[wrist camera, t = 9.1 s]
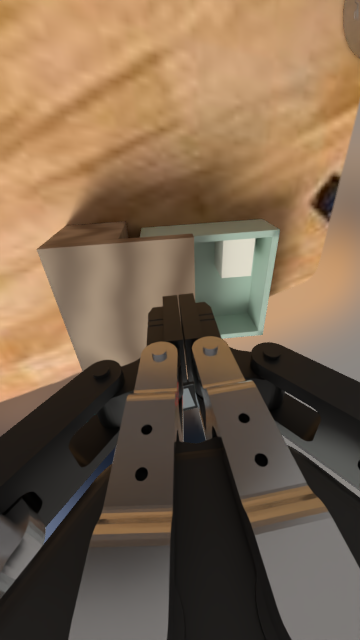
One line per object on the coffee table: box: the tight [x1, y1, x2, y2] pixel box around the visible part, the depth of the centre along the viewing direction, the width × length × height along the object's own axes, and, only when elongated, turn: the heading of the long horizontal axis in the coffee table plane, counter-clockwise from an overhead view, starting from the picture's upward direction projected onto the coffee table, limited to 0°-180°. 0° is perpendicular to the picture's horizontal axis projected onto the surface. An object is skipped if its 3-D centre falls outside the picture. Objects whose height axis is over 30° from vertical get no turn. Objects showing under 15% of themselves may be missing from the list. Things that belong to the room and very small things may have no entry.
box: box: [140, 219, 280, 339], centre depth 37 cm, size 17×16×6 cm
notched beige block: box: [37, 221, 195, 371], centre depth 35 cm, size 16×18×10 cm
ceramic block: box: [214, 238, 255, 278], centre depth 34 cm, size 5×5×4 cm
